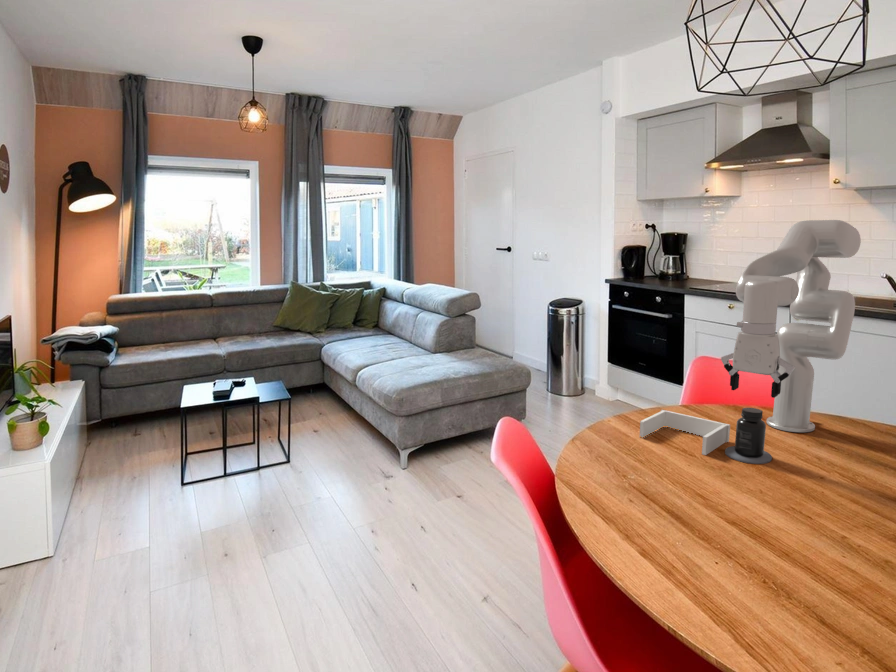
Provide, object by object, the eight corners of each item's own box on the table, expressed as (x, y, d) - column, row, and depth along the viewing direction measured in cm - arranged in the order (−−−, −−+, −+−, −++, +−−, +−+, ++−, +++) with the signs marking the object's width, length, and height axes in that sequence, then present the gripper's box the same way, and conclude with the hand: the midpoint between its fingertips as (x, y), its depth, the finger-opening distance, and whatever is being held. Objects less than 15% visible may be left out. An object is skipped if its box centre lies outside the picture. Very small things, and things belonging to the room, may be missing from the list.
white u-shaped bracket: (661, 425, 175) (662, 409, 174) (728, 441, 160) (730, 424, 159) (637, 437, 165) (638, 420, 164) (707, 455, 150) (708, 437, 150)
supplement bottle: (769, 457, 147) (773, 413, 145) (745, 459, 146) (748, 415, 144) (752, 447, 154) (755, 405, 152) (728, 449, 153) (732, 406, 151)
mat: (734, 444, 158) (734, 442, 158) (777, 455, 150) (777, 453, 150) (718, 455, 150) (718, 453, 150) (763, 467, 142) (763, 465, 142)
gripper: (717, 327, 148) (714, 389, 151) (792, 334, 135) (786, 403, 139) (729, 322, 153) (725, 383, 156) (801, 329, 140) (796, 395, 144)
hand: (754, 392), depth 147 cm, fingers open, 9 cm apart
